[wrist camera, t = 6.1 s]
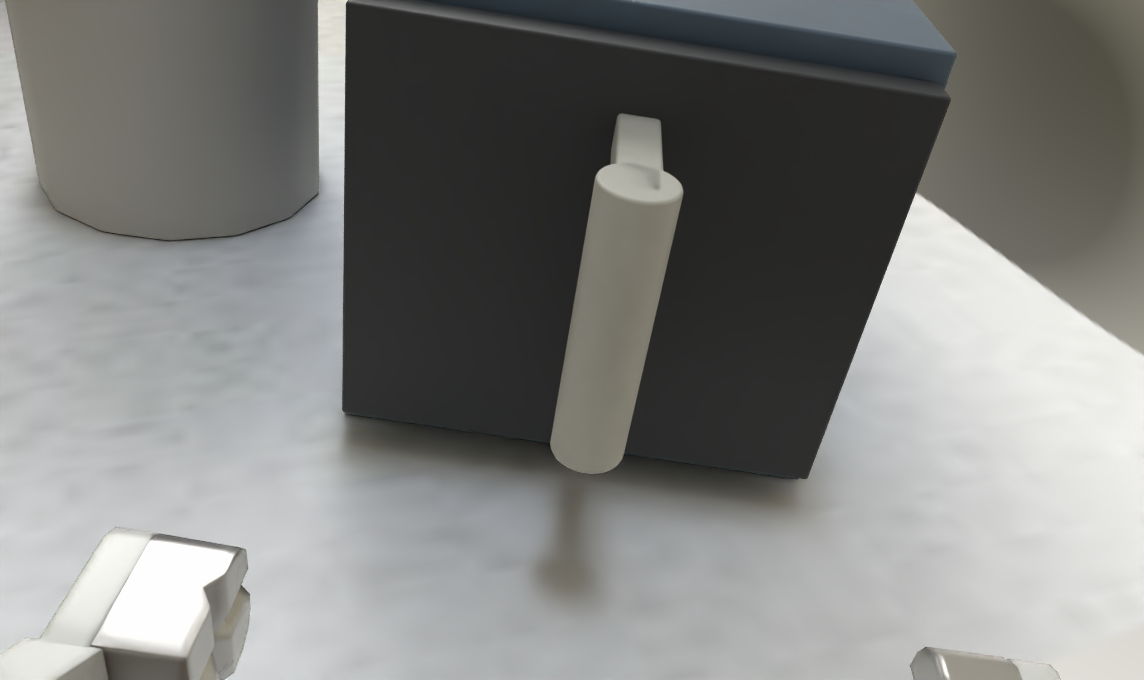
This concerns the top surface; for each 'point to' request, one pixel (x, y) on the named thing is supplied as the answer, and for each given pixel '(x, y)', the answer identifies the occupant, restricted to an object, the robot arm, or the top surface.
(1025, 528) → the top surface
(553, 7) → the blue cabinet
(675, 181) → the drawer with handle
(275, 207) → the cup
